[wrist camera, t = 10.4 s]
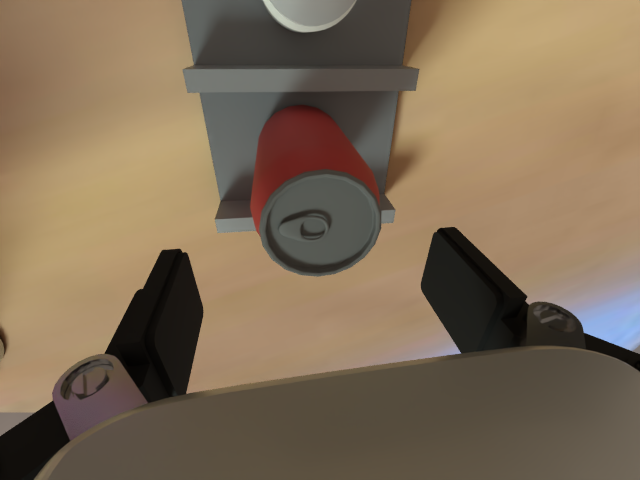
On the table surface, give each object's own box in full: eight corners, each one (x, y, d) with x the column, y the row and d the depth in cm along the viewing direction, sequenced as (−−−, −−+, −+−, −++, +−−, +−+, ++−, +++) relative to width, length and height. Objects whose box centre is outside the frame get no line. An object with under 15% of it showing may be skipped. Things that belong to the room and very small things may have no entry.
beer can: (255, 100, 21) (240, 156, 11) (347, 105, 22) (408, 160, 12) (259, 188, 25) (251, 288, 15) (338, 188, 26) (379, 283, 16)
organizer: (379, 200, 28) (393, 222, 25) (224, 208, 26) (217, 232, 23) (425, -145, 16) (462, -190, 13) (154, -166, 15) (119, -223, 12)
